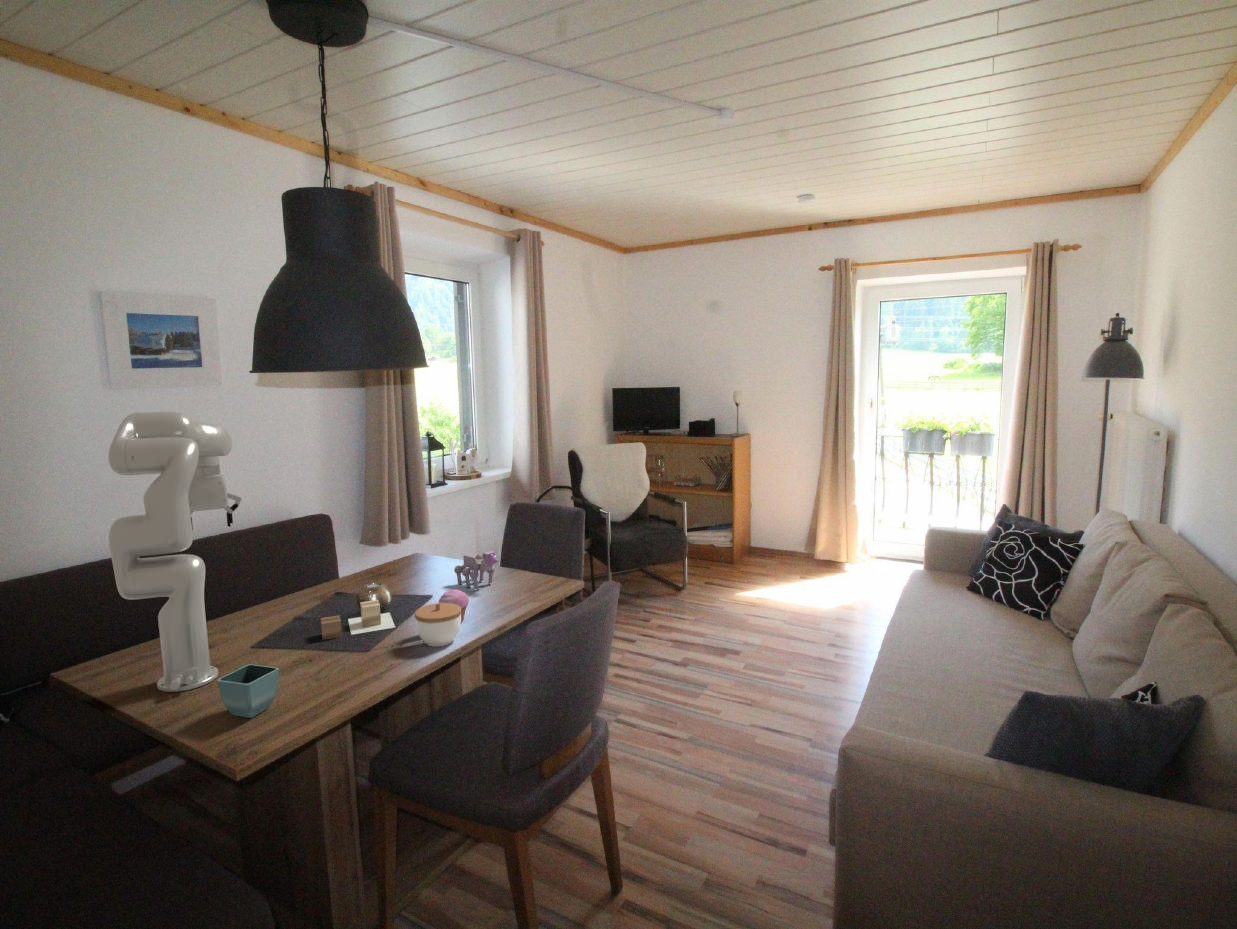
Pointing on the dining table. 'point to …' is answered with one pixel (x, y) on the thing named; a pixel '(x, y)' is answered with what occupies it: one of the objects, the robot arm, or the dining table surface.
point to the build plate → (358, 628)
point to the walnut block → (331, 627)
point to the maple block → (370, 613)
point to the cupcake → (456, 600)
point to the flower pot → (249, 689)
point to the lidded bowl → (438, 623)
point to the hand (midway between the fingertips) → (210, 528)
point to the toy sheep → (476, 567)
